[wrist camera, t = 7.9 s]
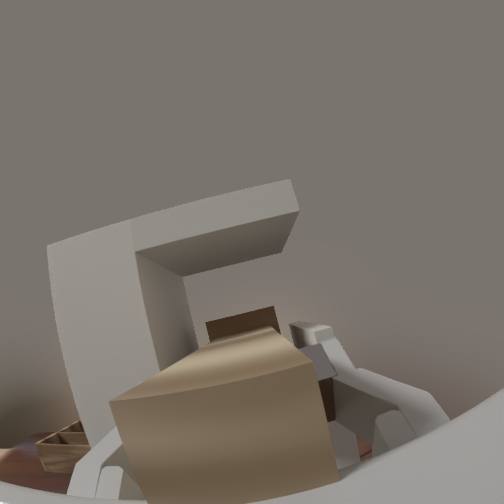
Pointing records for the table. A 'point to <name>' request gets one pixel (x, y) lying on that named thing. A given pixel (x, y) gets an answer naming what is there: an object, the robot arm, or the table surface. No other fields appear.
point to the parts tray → (63, 449)
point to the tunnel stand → (160, 294)
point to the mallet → (229, 420)
